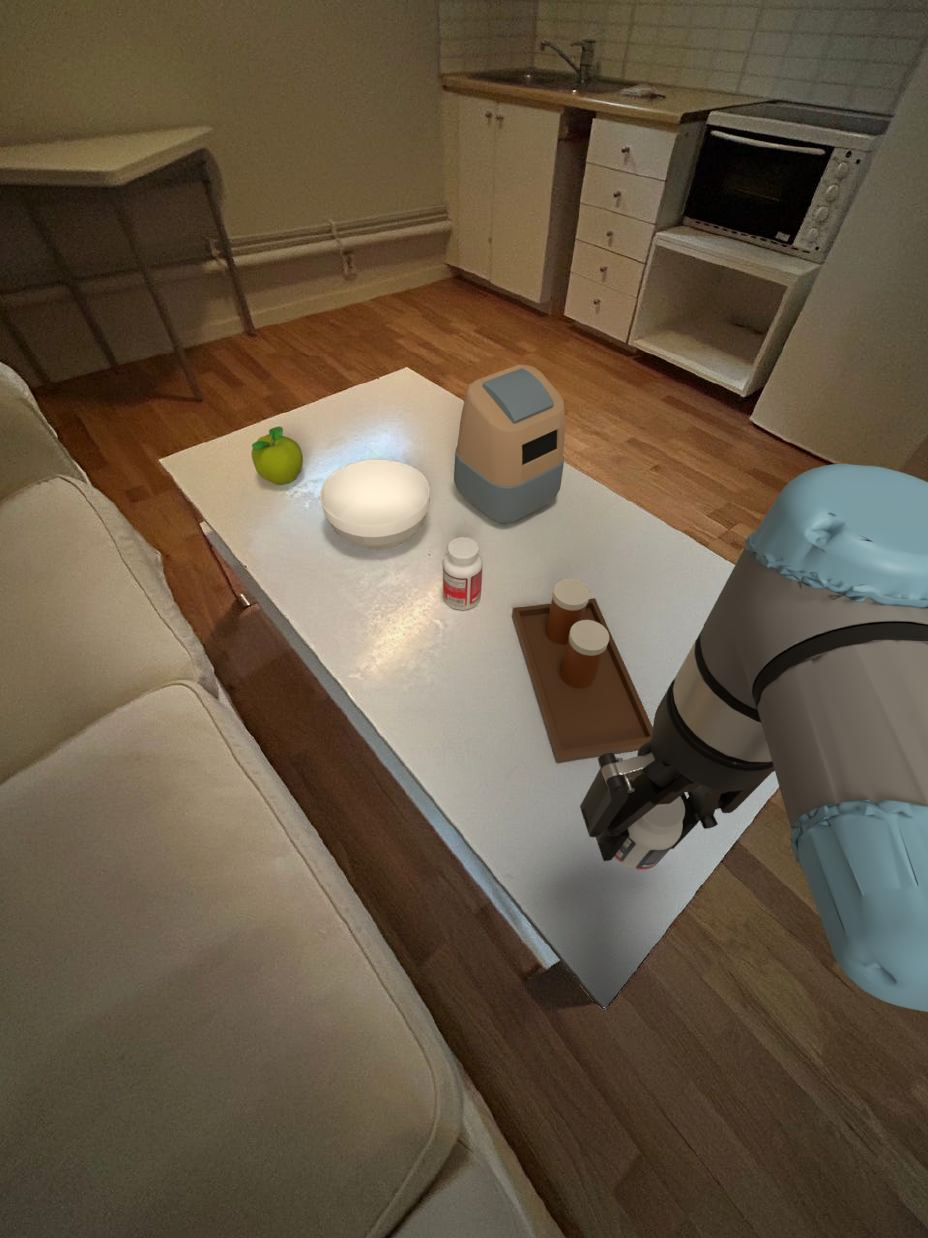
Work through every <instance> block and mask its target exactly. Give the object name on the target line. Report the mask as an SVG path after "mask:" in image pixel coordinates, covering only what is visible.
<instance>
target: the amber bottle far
mask: <svg viewBox="0 0 928 1238" xmlns="http://www.w3.org/2000/svg"><path fill="white" fill-rule="evenodd" d="M551 596H552V597H551V602H550V603H551V606H550V611H549V615H548V620H547V625H546V635H547V636H548V638H549V639H550V640H551V641H553V642H555V643H557V644H567V643H568V640H569V633H570V630H571V627H572V626H573V625H574V624H575V623H576V622H578V621H581V620H582V619H583V615H584V612H585V608H586V605H587V603H588V601H589V599H590V597H591V591H590V589H589V586H588V585H586V584H585V582H583V581H582V580H578V579H576V578H563V579H560V580H559V581H557V582H556V583H555V584H554V586H553V589H552V595H551Z"/></svg>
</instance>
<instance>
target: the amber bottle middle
mask: <svg viewBox="0 0 928 1238" xmlns="http://www.w3.org/2000/svg"><path fill="white" fill-rule="evenodd" d="M608 642H609V633H608V631H607V630H606V628H605V627H604V626H603V625H601V624H600V623H598V622H595V621H592V620H581V621H578V622H576V623H575V624H574V625H573V626H572V627H571V630H570V633H569V640H568V643H567V647H566V651H565V654H564V658H563V662H562V665H561V669H560V675H561V677H562V679H563V681H564V682H565V683H566V684H568V685H569V686H571V687H574V688H585V687H588V686H589V685H591V684H592V682H593V681H594V678H595V675H596V673H597V670H598V667H599V664H600V662H601V659H602V656H603V653H604V651H605V649H606V647H607V645H608Z"/></svg>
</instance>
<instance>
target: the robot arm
mask: <svg viewBox="0 0 928 1238" xmlns="http://www.w3.org/2000/svg"><path fill="white" fill-rule="evenodd" d="M744 545H745V546H744V548H743V550H742V551H741V554H740V555H739V558H738V559H737V561H736V563H735V565H734V567H733V569H732V571H731V573H730V574H729V576H728V578H727V580H726V582H725V584H724V586H723V588H722V590H721V591H720V593H719V595H718V597H717V599H716V601H715V603H714V604H713V607H712V609H711V610H710V612H709V613H708V616H707V618H706V619H705V622H704V623H703V627H702V629H701V630H700V632H699V634H698V636H697V638H696V639H695V641H694V642H693V644H692V646H691V648H690V649H689V651H688V654H687V655H686V657H685V659H684V660H683V662H682V664H681V666H680V668H679V669H678V671H677V673H676V675H675V677H674V678H673V679H672V681H671V682H670V684H669V685H668V687H667V689H666V691H665V693H664V694H663V697H662V699H661V700H660V702H659V704H658V705H657V708H656V710H655V714H654V717H653V724H652V727H653V733H652V738H651V739H650V740H649V741H648V742H647V743H645V744H644V745H642V746H641V747H640V748H639V750H638V751H637V754H636V756H634V757H630V758H627V759H623V757H616V754H614V753H606V754H603V755H601V756H599V757H597V761H598V765H599V770H598V771H597V773H596V775H595V777H594V779H593V781H592V782H591V785H590V786H589V788H588V790H587V792H586V794H585V796H584V797H583V800H582V801H581V803H580V805H579V808H580V809H579V810H580V811H581V815H582V819H583V822H584V825H585V827H586V830H587V833H588V837H589V838H595V839H596V842H597V846H598V848H599V852H600V854H601V857H602V861H603V862H609V861H612V860H613V859H614V856H615V855H616V853H617V852H618V850H619V849H620V848H621V846H622V845H623V844H624V842H625V841H626V839H627V838H628V837H629V835H630V834H629V832H628V829H627V828H629V827H630V826H631V825H632V824H634V823H635V822H636V821H637V820H639V819H640V818H641V817H643V816H644V815H645V814H646V813H648V812H649V811H650V810H651V809H653V808H654V807H655V806H656V805H659V804H670V803H672V802H673V801H674V800H675V799H677V798H678V797H679V796H680V797H681V798H682V800H683V803H684V806H685V815H684V818H683V820H682V822H683V828H682V833H681V835H680V838H679V839H678V841H677V842H676V843H675V844H674V846H673V847H672V848H671V849H670V850H674V849H675V848H676V847H677V846H678V845H679V844H681V842H682V841H683V840H684V839H685V838H686V836H688V834H689V833H691V831H692V830H693V829H694V828H695V827H696V826H697V825H698V824H699V822H700V824H701V826H702V828H703V829H704V830H708V829H712V828H714V827H716V826H718V825H719V822H718V821H717V818H716V817H715V813H716V810H719V809H720V811H721V813H722V814H731V813H733V812H734V811H735V810H737V809H738V808H739V807H740V806H741V805H742V804H743V803H744V802H745V800H747V798H749V797H750V796H751V794H752V793H754V792H755V790H757V788H759V786H760V785H762V783H763V782H764V781H766V780H767V778H768V777H770V775H772V774H773V773H775V776H776V781H777V784H778V787H779V791H780V795H781V799H782V802H783V805H784V809H785V812H786V816H787V819H788V824H789V827H790V831H789V832H790V847H791V851H792V853H793V856H794V858H795V861H796V862H797V863H798V864H799V866H800V869H801V870H802V872H803V874H804V876H805V880H806V883H807V885H808V889H809V891H810V893H811V896H812V900H813V902H814V905H815V907H816V910H817V913H818V915H819V918H820V921H821V925H822V927H823V930H824V932H825V935H826V938H827V941H828V944H829V946H830V949H831V952H832V955H833V957H834V959H835V961H836V963H837V964H838V966H839V968H840V969H841V970H842V972H843V973H844V974H845V975H846V976H847V977H848V978H849V980H851V981H852V982H853V983H854V984H855V985H856V986H857V987H859V988H860V989H861V990H862V991H864V992H866V993H867V994H869V995H871V996H873V997H875V998H876V999H878V1000H880V1001H882V1002H885V1003H888V1004H891V1005H894V1006H897V1007H901V1008H906V1009H910V1010H915V1011H921V1012H926V1013H928V482H927V481H926V480H923V479H921V478H919V477H916V476H913V475H911V474H907V473H905V472H901V471H899V470H895V469H891V468H888V467H887V468H886V467H883V466H876V465H860V464H850V463H833V464H827V465H821V466H818V467H813V468H811V469H809V470H806V471H804V472H802V473H800V474H799V475H797V476H795V477H794V478H792V479H791V480H790V481H789V482H788V483H787V484H786V485H784V487H783V488H782V489H781V491H780V492H779V494H778V496H777V497H776V499H775V500H774V502H773V504H772V505H771V507H770V508H769V510H768V512H767V513H766V514H765V516H764V518H763V519H762V521H761V522H760V523H759V526H758V528H757V529H756V530H754V531H752V533H750V534H748V536H747V539H746V540H745V543H744ZM686 793H687V794H686ZM687 795H688V797H687Z"/></svg>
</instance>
